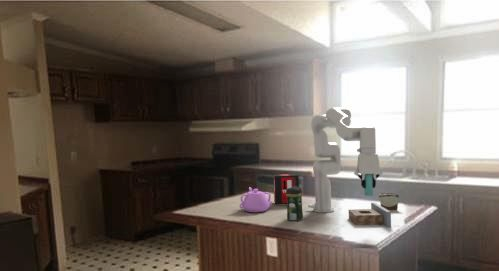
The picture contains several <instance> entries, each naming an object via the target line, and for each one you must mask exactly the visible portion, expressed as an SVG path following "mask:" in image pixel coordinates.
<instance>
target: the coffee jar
mask: <svg viewBox="0 0 499 271" xmlns="http://www.w3.org/2000/svg"><path fill="white" fill-rule="evenodd" d="M302 190H303V189H302V187H301V186H299V187H297V186H293V187H291V188H288V189H287V190H286V195H287V205H286V219H287V220H288V221H290V222H295V221H297V222H298V221H301V220H302V219H303V217H304V215H303V214H304V213H303V198H302V197H303V191H302Z"/></svg>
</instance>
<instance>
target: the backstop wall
mask: <svg viewBox="0 0 499 271" xmlns="http://www.w3.org/2000/svg"><path fill="white" fill-rule="evenodd" d="M370 206H371V208H370V209H374V210H376V211H377V212H379V213H381V214H382V215H383V225H384V226H385V227H386V228H392V214H391V213H392V212H391V210H387V209H385V208H383V207H382V206H381V204H378V203H377V202H370Z"/></svg>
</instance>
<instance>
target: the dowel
mask: <svg viewBox="0 0 499 271" xmlns="http://www.w3.org/2000/svg"><path fill="white" fill-rule="evenodd" d="M364 179H365V182H366V188H363V189H364V192H363V193H364V196H365V197H366V196H367V197H371V196H374V188H373V174H365V178H364Z"/></svg>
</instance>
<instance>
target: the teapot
mask: <svg viewBox="0 0 499 271" xmlns="http://www.w3.org/2000/svg"><path fill="white" fill-rule="evenodd" d="M248 189H249V190H248V192H247V193H244V194H241V195H240V202H241V203H239V208H240V209H244V211H245V212H249V213H251V214H252V213H253V214H254V213H261V212H266V211H267V210H268V209H269V208H270V207H271V206H272V205H273V202H272V201H271V198H272V197H271V193H270V192H268V191H265V192H263V191H260V190H259V189H258V188H254V189H253V188H252V187H251V186H249V187H248ZM266 194H267V195H268V197H267V195H266ZM243 197H244V199H243Z"/></svg>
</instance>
